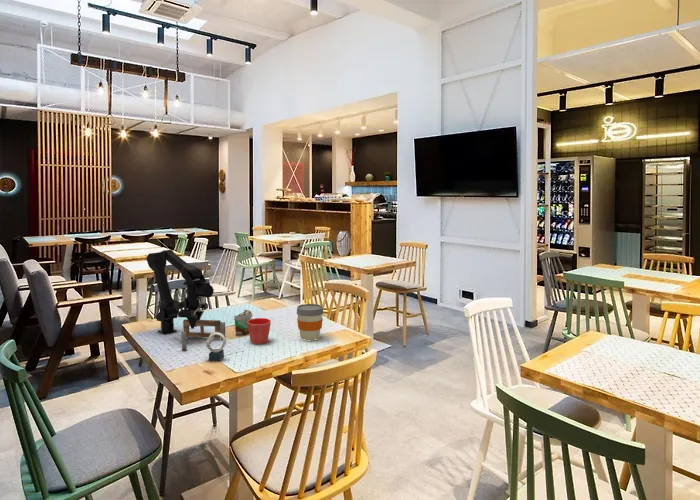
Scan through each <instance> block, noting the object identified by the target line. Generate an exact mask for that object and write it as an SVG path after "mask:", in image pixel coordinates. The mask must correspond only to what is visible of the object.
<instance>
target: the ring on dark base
mask: <svg viewBox="0 0 700 500" xmlns="http://www.w3.org/2000/svg"><path fill="white" fill-rule="evenodd" d="M210 333H211V335H210V336H209V337H208V338H207V339H206V341H205V345H206V348H207V350H208V351H210V352H209V353H208V361H209V362H221V360H222V359H223V358H224V357H225V352H224V351H225V349H224V348H225V346H226V344H227V339H226V338H225V336H226V335H225V336H224V335H223V334H222V333H219V332H215V331H214V332H210ZM215 335H219V336H221V337H222V338H223V340H222V344H221V346H220V348H218V349H217V348H215V349H214V348H212V346H211V343H212V342H213V340H214V339H215V338H214V337H215ZM221 337H220V338H221Z"/></svg>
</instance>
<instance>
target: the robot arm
mask: <svg viewBox="0 0 700 500" xmlns="http://www.w3.org/2000/svg"><path fill="white" fill-rule="evenodd" d="M146 261H147V265H148V267H149V269H151V271H152V272H153V274H154V277H155V281H156V285H157V290H158V294H159V298H160V303H159V307H158V309H159V312H157V314H156V315H155V320H156V321H157V322H160V329H159V330H157V332H159V333H161V334H163V335H166V334H171V333H174V332H175V333H176V332H177V329H175V326H174V325H175V323H174V319H177V318H185V319H188V321H189V324H190V326H189V327H190V329H192V330H193V329H195V328H197V327H198V326H195V323H196V320H201V318H202V316H203V314H204V312H205V311H204V310H207V309H209V304H208V303H207V302H201V299H202V298H207V299H208V298H211V297H212V296H213V295H214V291H215V290H214V288H213V285H212V284H211V282H207V279H206V278H205V277H204V276H205V275H204V274H203V272H202V270H201V269H200V267H197V266H196V265H193V264H190V263H188V262H186V261H185V260H184V259H183V258H181V257H180V256H178V254H176V253H175V252H174V250H172V249H166V250H165V249H164V250H162V251H157V252H151V253H148V254H147V256H146ZM167 263H170V265H171V266H173V267H174V268H175V269H177V270H178V271H179V272H180V275H181V277H182V278H183V279H184V282H183V283H182V285H183V286H186V297H184V300H182V301H179V300H176V299H175V300H174V298H173V296H172V293H171V289H170V285H169V281H168V277H167V273H166V266H167ZM202 309H204V310H202Z"/></svg>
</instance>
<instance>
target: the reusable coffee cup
mask: <svg viewBox="0 0 700 500" xmlns="http://www.w3.org/2000/svg"><path fill="white" fill-rule="evenodd" d="M296 315H297V318H296V320H297V328H298V330H299V335H300V336H299V337H300V339H301V338H302V339H305V340H315V339H318V338H319V339H320V336H321V330H322V327H323V321H324V319H323V315H324V307H323V305H321V304H317V303H305V304H300V305H297V307H296ZM302 339H301V340H302ZM319 339H318V340H319ZM305 340H304V341H305ZM315 341H316V340H315Z"/></svg>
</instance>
